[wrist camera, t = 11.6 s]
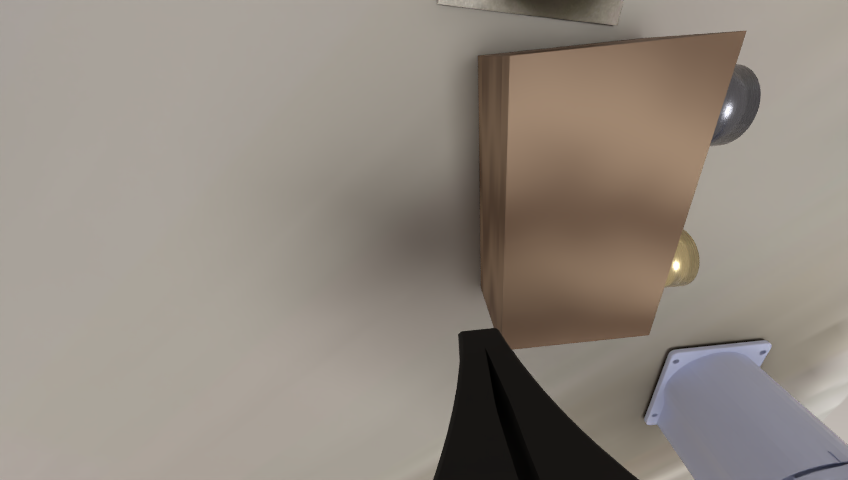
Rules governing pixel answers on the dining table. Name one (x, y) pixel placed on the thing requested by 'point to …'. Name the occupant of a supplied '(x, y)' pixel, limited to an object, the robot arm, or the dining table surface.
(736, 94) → the black knob
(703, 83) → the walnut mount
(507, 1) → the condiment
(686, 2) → the dining table surface
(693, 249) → the brass knob
